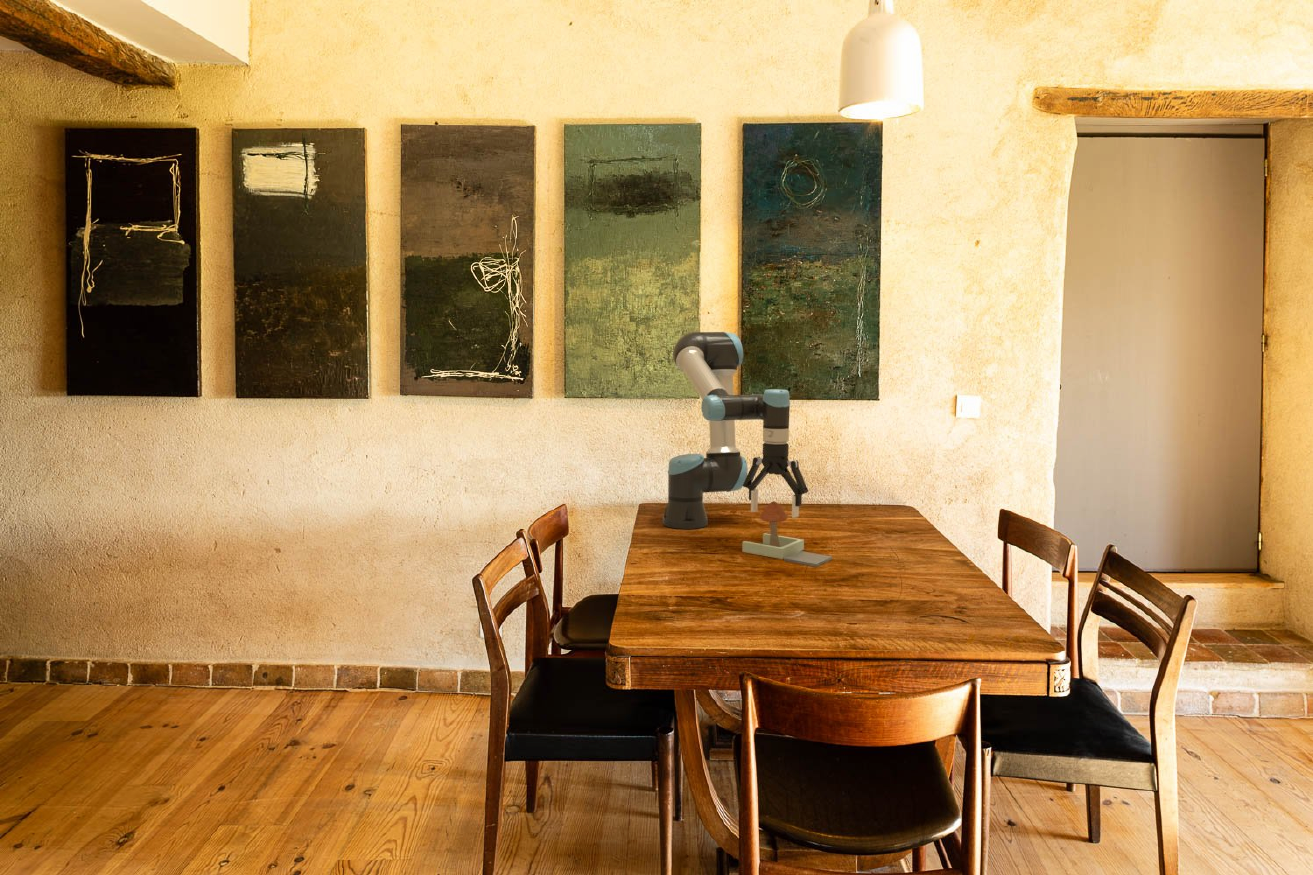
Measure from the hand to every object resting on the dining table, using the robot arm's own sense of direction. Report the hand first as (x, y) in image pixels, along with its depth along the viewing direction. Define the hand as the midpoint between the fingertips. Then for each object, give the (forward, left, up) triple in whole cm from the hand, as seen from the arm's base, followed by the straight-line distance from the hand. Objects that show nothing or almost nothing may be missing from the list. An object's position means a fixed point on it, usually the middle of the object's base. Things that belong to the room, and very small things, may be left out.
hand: (774, 514), depth 242 cm
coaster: (+13, -3, -11) cm, 17 cm away
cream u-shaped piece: (0, 0, -11) cm, 11 cm away
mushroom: (0, 0, -11) cm, 11 cm away
